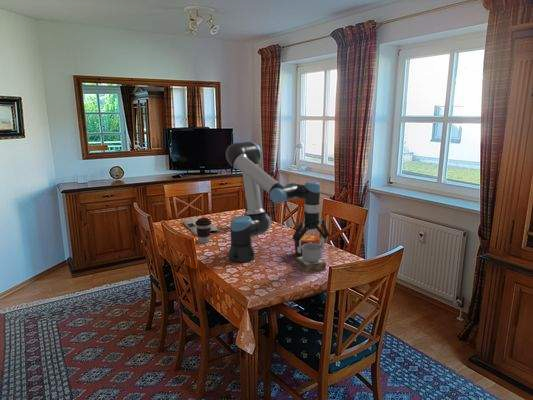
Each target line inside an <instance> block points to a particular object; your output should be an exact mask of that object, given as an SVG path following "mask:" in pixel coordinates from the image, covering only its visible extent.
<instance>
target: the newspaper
mask: <svg viewBox="0 0 533 400" xmlns="http://www.w3.org/2000/svg"><path fill="white" fill-rule="evenodd" d="M199 218H200V217H192V218H186V219H182V220H181V222H182V223H183V224H184V225H185V226H186V227H187V229H189V230H190V231H191V232H192V233H193V234H194V235H195V236H197V225H196V223H195V222H196V221H198V219H199ZM210 226H211V232H212V231H214V232H215V233H221V232H222V231H221V230H220V228H218V227H216V226H215V225H214V224H213V223H211V224H210ZM197 237H198V236H197Z"/></svg>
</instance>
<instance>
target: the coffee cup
mask: <svg viewBox="0 0 533 400" xmlns="http://www.w3.org/2000/svg"><path fill="white" fill-rule="evenodd" d="M198 218H199V219H198V221H196V222H195V223H196V225H197V241H198V243H200V244H208V243H210V241H211V232H212V231H211V226H210V224H212V220H210V219H209V218H208V217H198Z"/></svg>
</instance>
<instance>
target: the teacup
mask: <svg viewBox="0 0 533 400" xmlns="http://www.w3.org/2000/svg"><path fill="white" fill-rule="evenodd" d="M301 248H302V257H303V259H304V260H306V261H307V262H317V261H318V260H320V259H322V257H323V250H322V245H321V243H320V244H317V243H312V242H309V243H307V244H304V245H302V246H301Z"/></svg>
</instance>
